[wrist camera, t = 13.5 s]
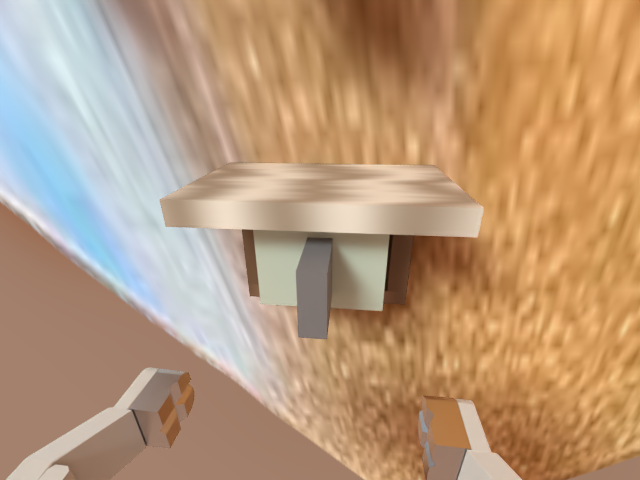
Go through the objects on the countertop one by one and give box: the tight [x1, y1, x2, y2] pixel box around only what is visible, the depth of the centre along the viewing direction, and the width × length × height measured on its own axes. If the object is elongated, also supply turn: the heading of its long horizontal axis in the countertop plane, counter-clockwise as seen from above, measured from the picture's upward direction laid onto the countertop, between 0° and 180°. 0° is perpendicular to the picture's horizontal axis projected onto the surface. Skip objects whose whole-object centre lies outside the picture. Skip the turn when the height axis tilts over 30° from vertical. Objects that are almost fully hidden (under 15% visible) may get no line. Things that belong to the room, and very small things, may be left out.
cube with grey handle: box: [253, 230, 390, 339], centre depth 21 cm, size 8×6×12 cm
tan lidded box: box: [160, 163, 484, 305], centre depth 22 cm, size 16×11×10 cm
